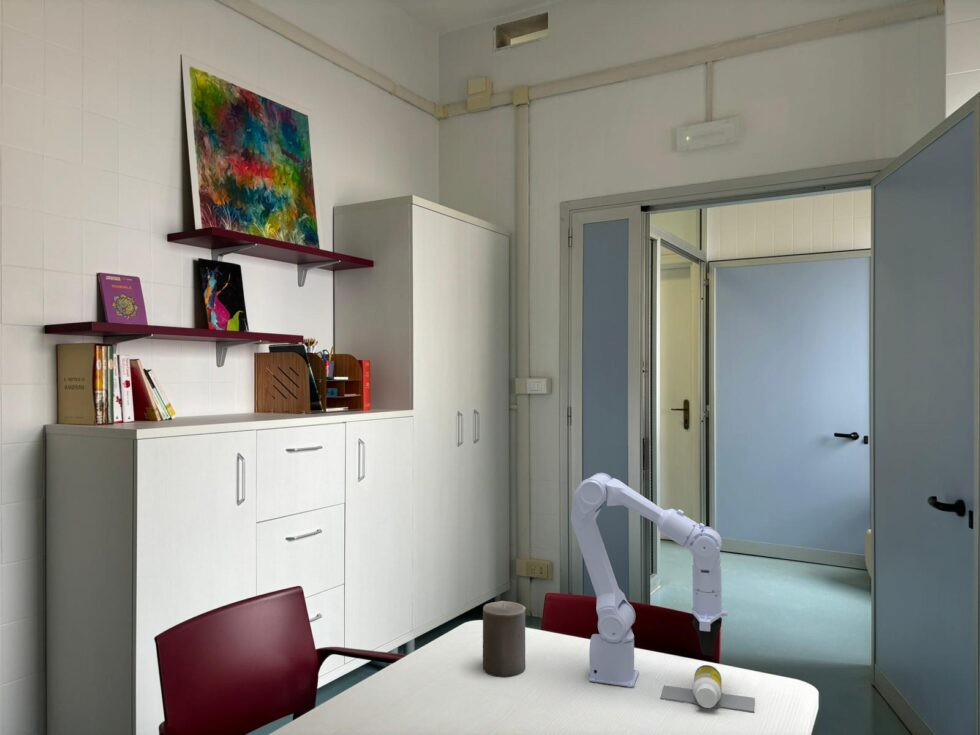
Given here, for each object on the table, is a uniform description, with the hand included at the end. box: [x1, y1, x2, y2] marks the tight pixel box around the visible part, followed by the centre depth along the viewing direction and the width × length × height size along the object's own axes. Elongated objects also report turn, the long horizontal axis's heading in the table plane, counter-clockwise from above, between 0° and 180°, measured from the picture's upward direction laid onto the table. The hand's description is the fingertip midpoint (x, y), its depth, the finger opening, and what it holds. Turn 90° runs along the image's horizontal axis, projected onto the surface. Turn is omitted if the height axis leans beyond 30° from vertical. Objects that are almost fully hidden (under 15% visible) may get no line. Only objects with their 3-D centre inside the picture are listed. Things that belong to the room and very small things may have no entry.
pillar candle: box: [482, 600, 527, 678], centre depth 163 cm, size 10×10×15 cm
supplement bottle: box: [692, 664, 722, 709], centre depth 145 cm, size 5×5×10 cm
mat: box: [659, 684, 756, 713], centre depth 146 cm, size 18×6×1 cm, turn 69°
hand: (707, 653), depth 149 cm, fingers closed
